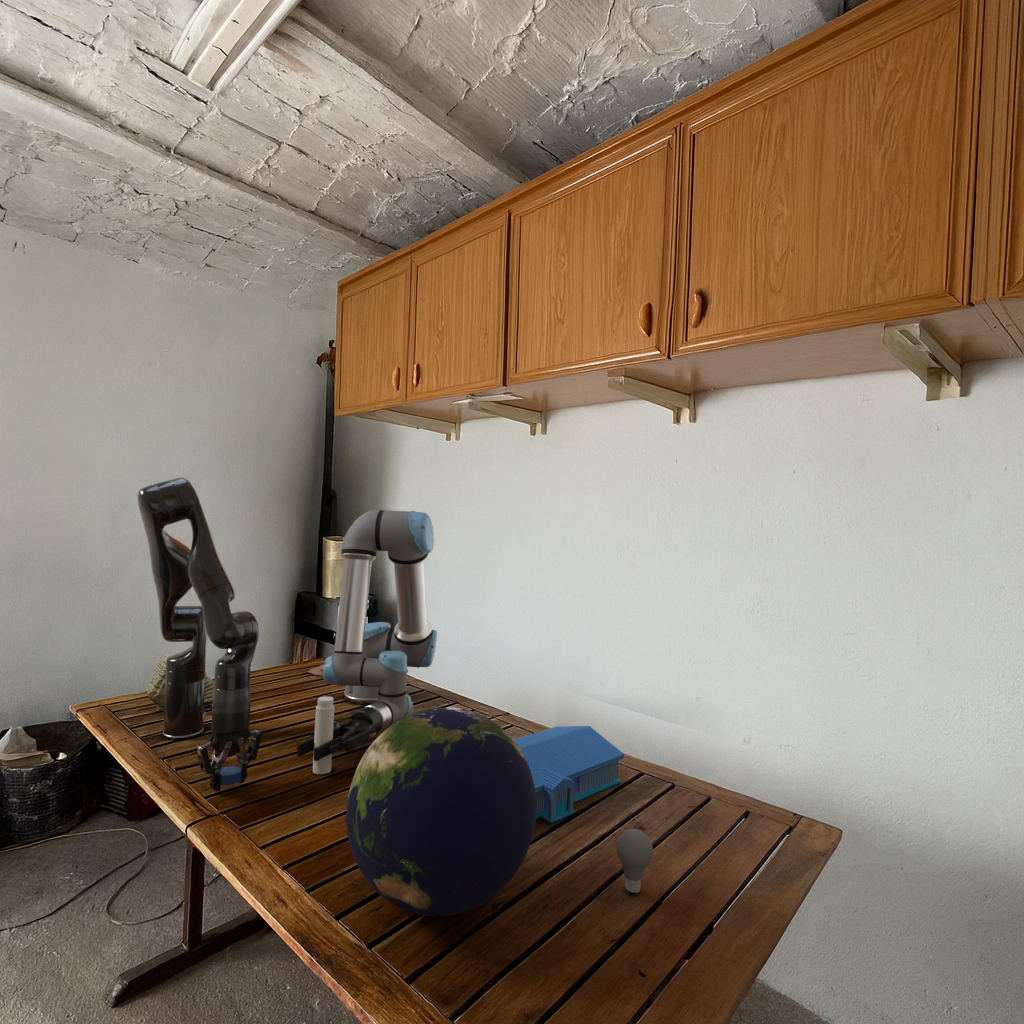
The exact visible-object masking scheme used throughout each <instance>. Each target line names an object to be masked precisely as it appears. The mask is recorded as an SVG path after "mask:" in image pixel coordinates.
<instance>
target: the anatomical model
mask: <svg viewBox="0 0 1024 1024" xmlns="http://www.w3.org/2000/svg"><path fill="white" fill-rule="evenodd" d="M323 667H324V664H321V665H319V666H316V667H313V668H310V669H309V670H308V674H311V675H313V676H314V675H315V676H321V677H323Z"/></svg>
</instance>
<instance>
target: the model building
mask: <svg viewBox="0 0 1024 1024" xmlns="http://www.w3.org/2000/svg"><path fill="white" fill-rule="evenodd" d="M513 740H514V741H515V742H516V744H517V745H518V746H519V748H520V749H521V751H522V753H523V755H524V756H525V758H526V760H527V763H528V766H529V768H530V771H531V774H532V777H533V781H534V786H535V792H536V805H537V810H536V819H539V818H541V819H543V820H545V821H548V823H551V824H553V823H556V822H557V821H559V820H562V819H564V818H567V817H569V816H570V815H573V814H575V813H576V810H575V809H574V803H576V802H578V801H580V800H583V799H585V798H587V797H589V796H592V795H594V794H597V793H599V792H601V791H604V790H607V789H609V788H611V787H613V786H615V785H617V784H620V783H622V779H620V778H618V777H619V761H621V760H623V759H625V753H623V751H621V750H620V749H619V748H617V747H616V746H615V745H613V743H611V741H609V740H607V738H605V737H604V736H602V735H601V734H600V733H599V732H597V731H596V730H595V729H594V728H593V727H592V726H590V725H566V726H565V725H564V726H563V725H561V726H560V725H559V726H553V727H550V728H548V729H544V730H540V731H537V732H534V733H531V734H527V735H523V736H520V737H517V738H513Z"/></svg>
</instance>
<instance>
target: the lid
mask: <svg viewBox="0 0 1024 1024" xmlns="http://www.w3.org/2000/svg"><path fill="white" fill-rule="evenodd" d="M220 773H221V786H232V785H234V784H235V785H236V784H238V783H239V781H240V780H241V776H242V772H241V768H239V767H237V765H236V766H235V765H229V766H224V767H222V768H221V771H220Z"/></svg>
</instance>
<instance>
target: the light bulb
mask: <svg viewBox="0 0 1024 1024" xmlns="http://www.w3.org/2000/svg"><path fill="white" fill-rule="evenodd" d="M615 849H616V854H617V857H618V859H619V861H620V863H621V865H622V867H623V873H624V874H623V875H624V876H625V878H624V888H625V890H627V891H628V892H630V893H634V894H635V893H639V892H640V891H641V889H642V887H641V886H642V879H643V877H644V875H645V871H646V868H647V867H648V866H649V864H650V863H651V861H652V859H653V855H654V847H653V843H652V841H651V838H649V836H648V835H647V834H646V833H645V832H643V831H642V830H641V829H636V828H629V829H627V830H625V831H623V832H622V833H621V834H620V835H619V837H618V839H617V841H616V847H615Z"/></svg>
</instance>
